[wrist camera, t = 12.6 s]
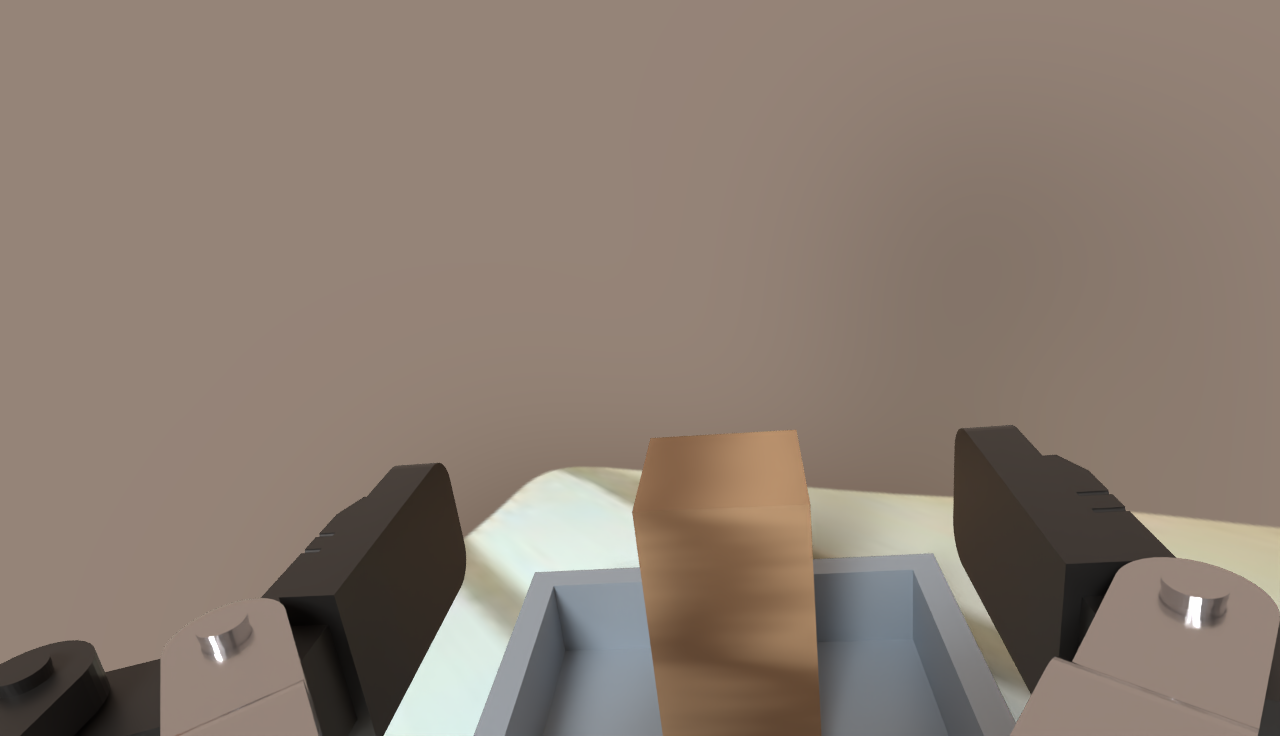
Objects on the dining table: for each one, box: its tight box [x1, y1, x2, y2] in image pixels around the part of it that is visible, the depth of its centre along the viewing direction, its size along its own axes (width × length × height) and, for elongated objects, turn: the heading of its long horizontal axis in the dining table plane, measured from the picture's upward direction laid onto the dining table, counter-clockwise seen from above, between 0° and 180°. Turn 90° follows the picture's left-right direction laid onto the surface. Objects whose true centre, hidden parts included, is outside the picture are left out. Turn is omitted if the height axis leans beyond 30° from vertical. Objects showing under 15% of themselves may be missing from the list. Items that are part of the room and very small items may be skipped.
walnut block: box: [632, 430, 821, 736], centre depth 25 cm, size 5×5×10 cm
